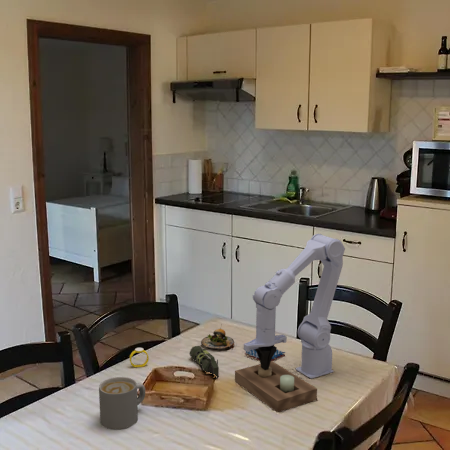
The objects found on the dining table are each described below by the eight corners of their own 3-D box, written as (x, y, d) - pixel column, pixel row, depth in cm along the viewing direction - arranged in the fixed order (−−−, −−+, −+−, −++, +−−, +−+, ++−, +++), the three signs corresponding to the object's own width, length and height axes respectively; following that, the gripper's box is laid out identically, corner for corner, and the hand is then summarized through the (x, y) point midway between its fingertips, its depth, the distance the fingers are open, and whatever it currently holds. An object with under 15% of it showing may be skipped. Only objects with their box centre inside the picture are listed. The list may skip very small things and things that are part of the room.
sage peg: (288, 384, 167) (288, 373, 167) (296, 390, 164) (297, 378, 163) (277, 388, 165) (277, 376, 165) (285, 393, 162) (285, 382, 161)
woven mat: (262, 348, 202) (262, 343, 202) (286, 357, 195) (286, 351, 195) (242, 357, 195) (242, 351, 195) (266, 366, 188) (266, 360, 187)
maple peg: (266, 375, 177) (266, 364, 176) (273, 380, 174) (274, 369, 173) (255, 378, 175) (255, 367, 174) (263, 383, 172) (263, 372, 171)
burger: (194, 345, 204) (194, 325, 203) (218, 336, 212) (219, 317, 211) (216, 355, 196) (216, 335, 194) (241, 346, 203) (241, 326, 202)
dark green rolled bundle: (202, 356, 195) (223, 378, 178) (188, 359, 193) (208, 381, 176) (202, 339, 193) (223, 359, 177) (188, 341, 191) (208, 362, 175)
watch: (130, 369, 184) (130, 351, 183) (129, 365, 187) (128, 348, 185) (149, 367, 186) (148, 349, 185) (147, 363, 188) (147, 346, 187)
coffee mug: (109, 433, 147) (107, 397, 145) (94, 417, 155) (93, 382, 153) (155, 418, 154) (155, 384, 152) (139, 403, 162) (138, 370, 160)
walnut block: (271, 371, 183) (271, 360, 182) (316, 399, 165) (317, 388, 164) (234, 381, 176) (234, 370, 175) (277, 412, 158) (277, 400, 157)
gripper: (277, 317, 178) (276, 358, 181) (238, 326, 171) (237, 368, 173) (291, 324, 172) (290, 367, 175) (251, 334, 165) (250, 377, 167)
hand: (264, 368), depth 174 cm, fingers closed, pressing on maple peg
